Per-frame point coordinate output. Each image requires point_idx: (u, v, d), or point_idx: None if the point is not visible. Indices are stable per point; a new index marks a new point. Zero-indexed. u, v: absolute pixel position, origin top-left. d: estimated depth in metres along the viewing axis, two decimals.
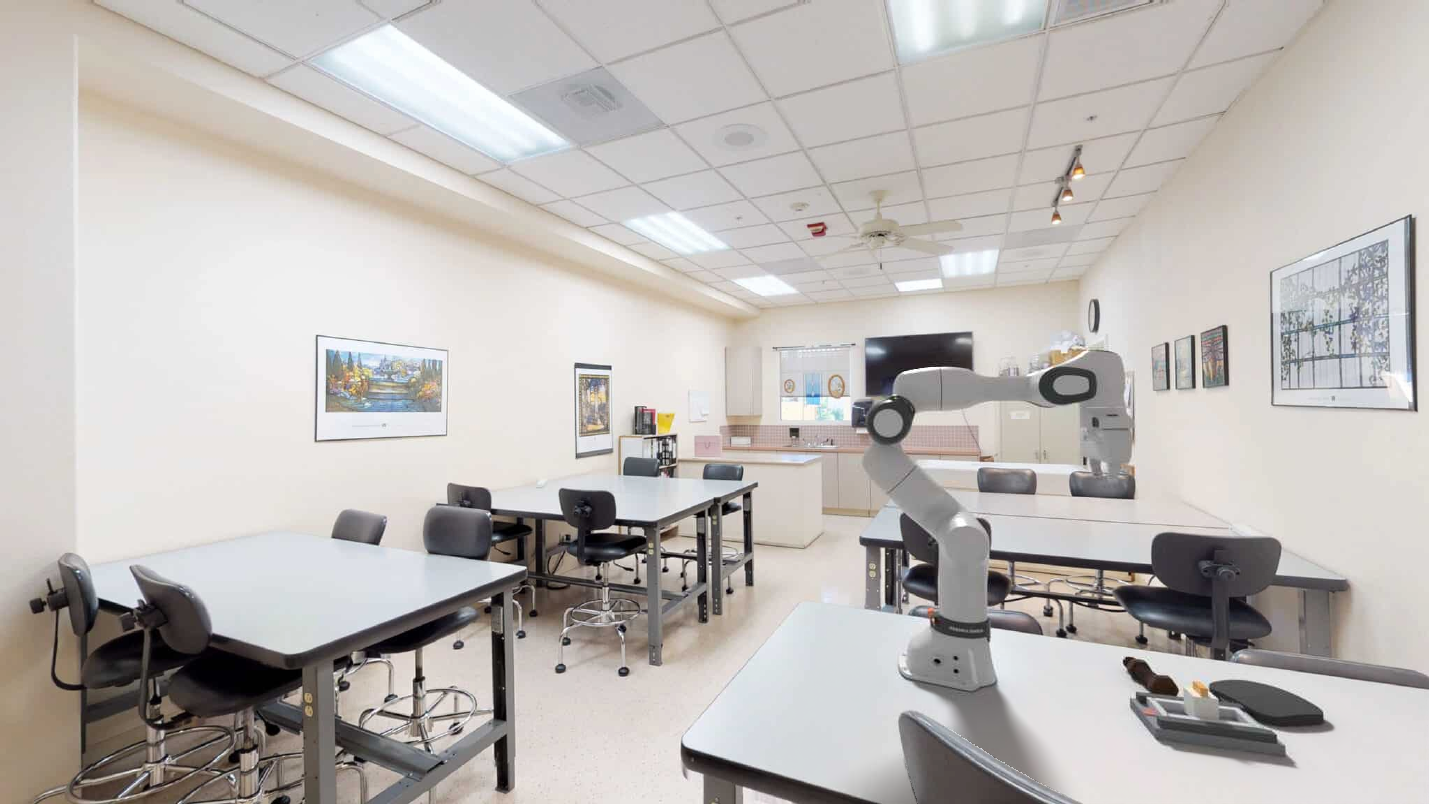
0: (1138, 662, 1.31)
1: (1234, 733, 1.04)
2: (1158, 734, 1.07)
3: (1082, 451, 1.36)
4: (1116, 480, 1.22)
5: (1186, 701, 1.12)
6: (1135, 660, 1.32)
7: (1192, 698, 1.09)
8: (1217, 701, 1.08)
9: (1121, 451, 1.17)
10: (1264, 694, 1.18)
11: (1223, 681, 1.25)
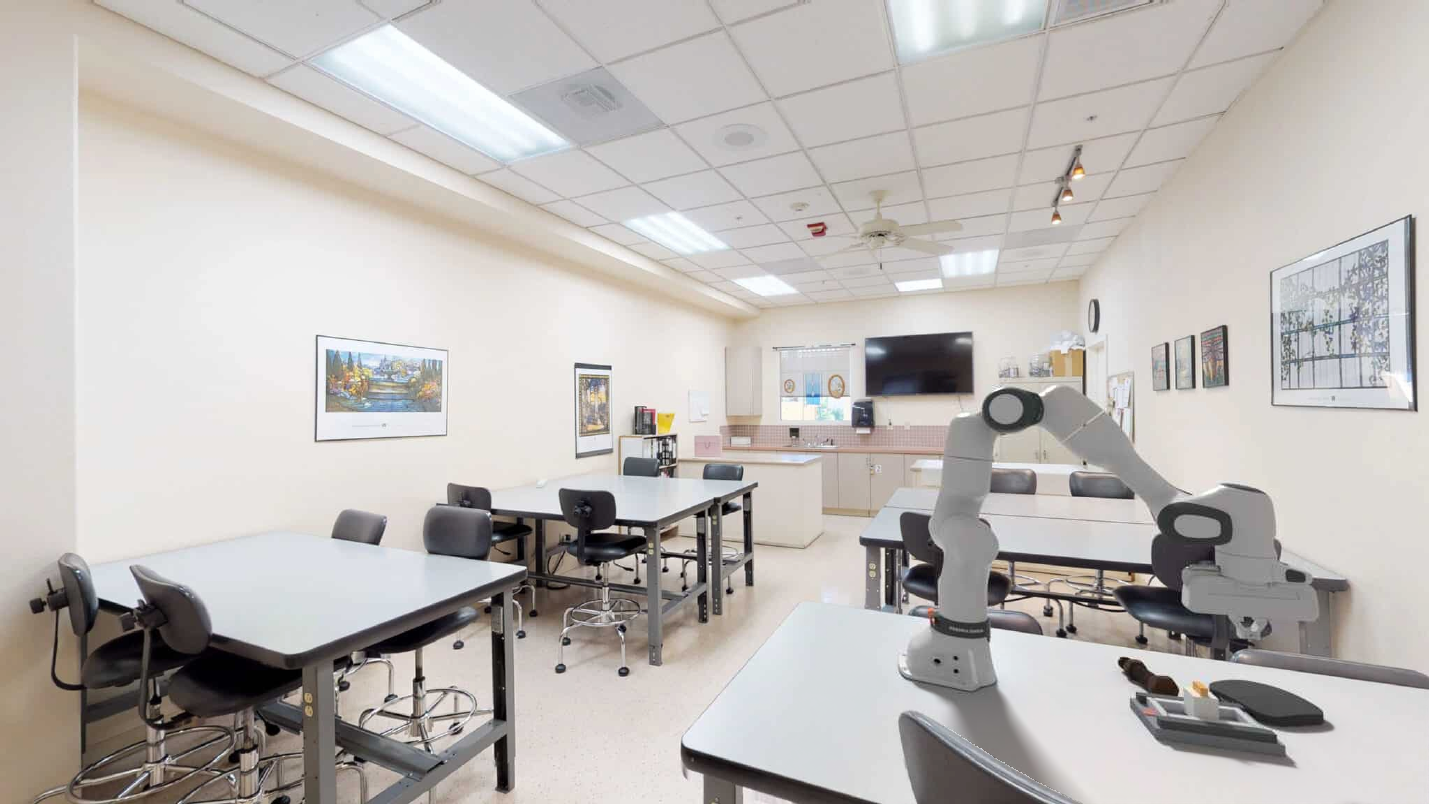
0: (1135, 662, 1.31)
1: (1234, 733, 1.04)
2: (1158, 734, 1.07)
3: (1199, 606, 1.09)
4: None
5: (1186, 701, 1.12)
6: (1132, 660, 1.32)
7: (1192, 698, 1.09)
8: (1217, 701, 1.08)
9: None
10: (1264, 694, 1.18)
11: (1223, 681, 1.25)
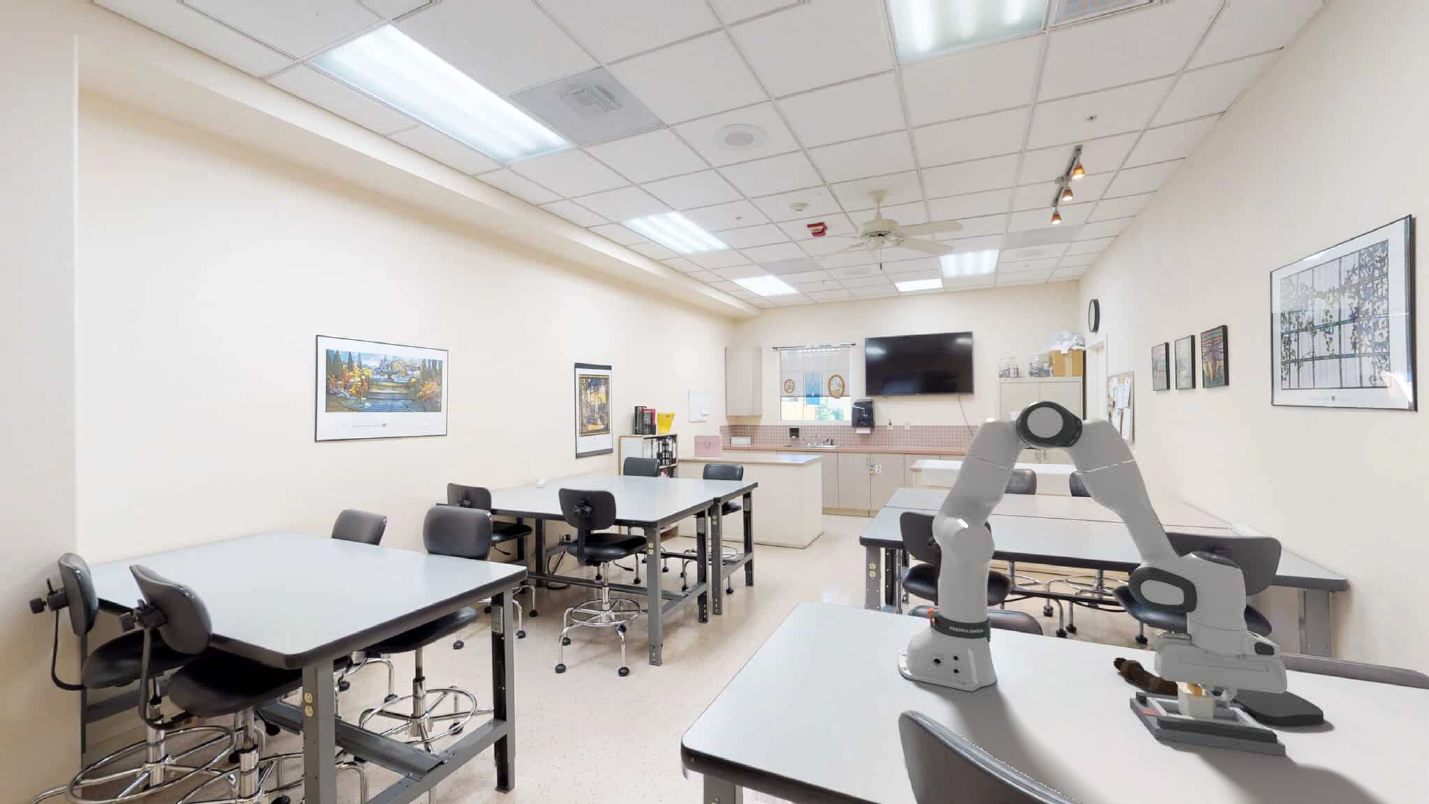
0: (1132, 663, 1.30)
1: (1234, 733, 1.04)
2: (1158, 734, 1.07)
3: (1170, 674, 1.10)
4: None
5: (1180, 701, 1.12)
6: (1129, 661, 1.31)
7: (1187, 698, 1.09)
8: (1211, 700, 1.08)
9: None
10: (1264, 694, 1.18)
11: None
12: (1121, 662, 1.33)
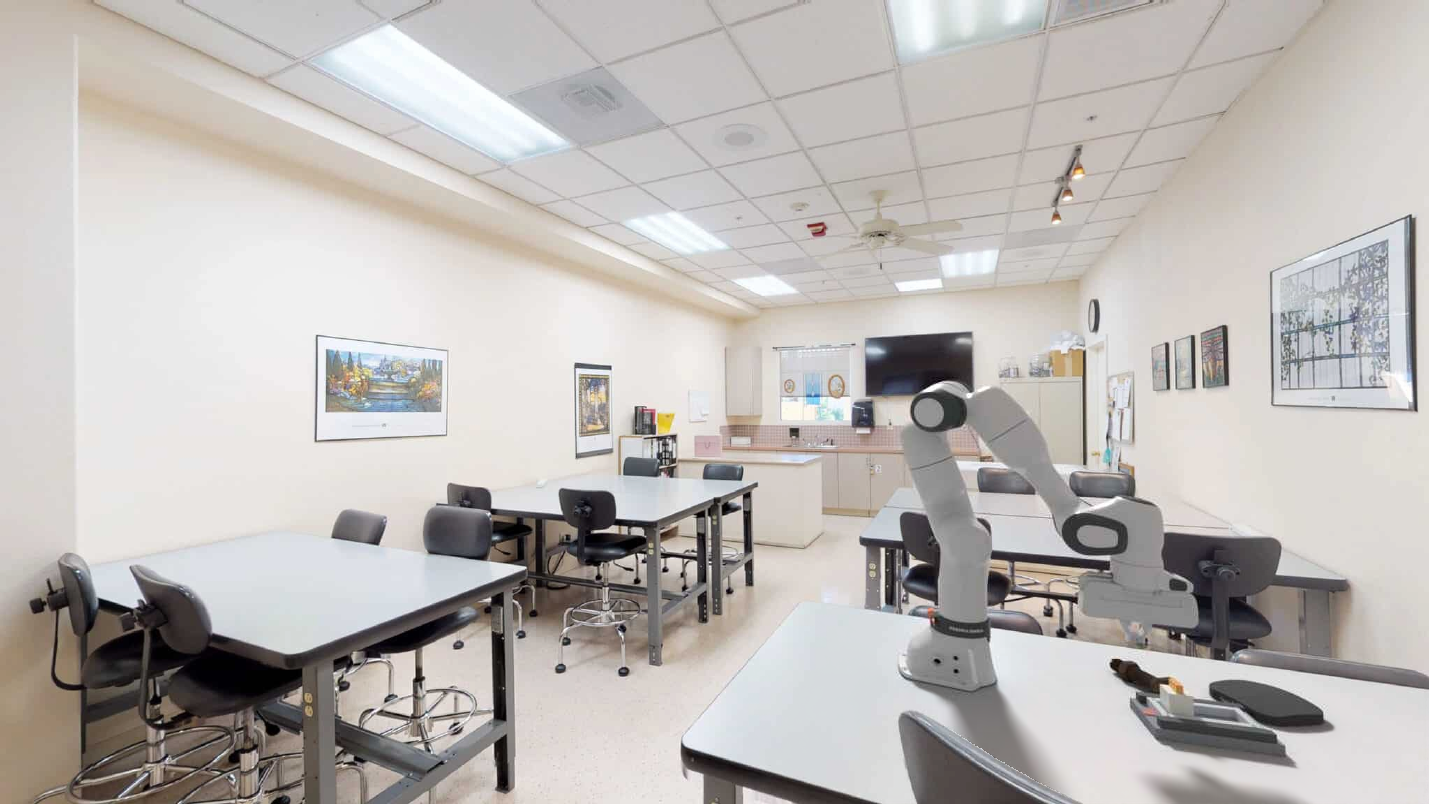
0: (1130, 664, 1.30)
1: (1234, 733, 1.04)
2: (1158, 734, 1.07)
3: (1091, 610, 1.15)
4: None
5: (1162, 698, 1.13)
6: (1127, 662, 1.31)
7: (1168, 695, 1.10)
8: (1192, 698, 1.09)
9: None
10: (1264, 694, 1.18)
11: (1223, 681, 1.25)
12: (1118, 663, 1.33)
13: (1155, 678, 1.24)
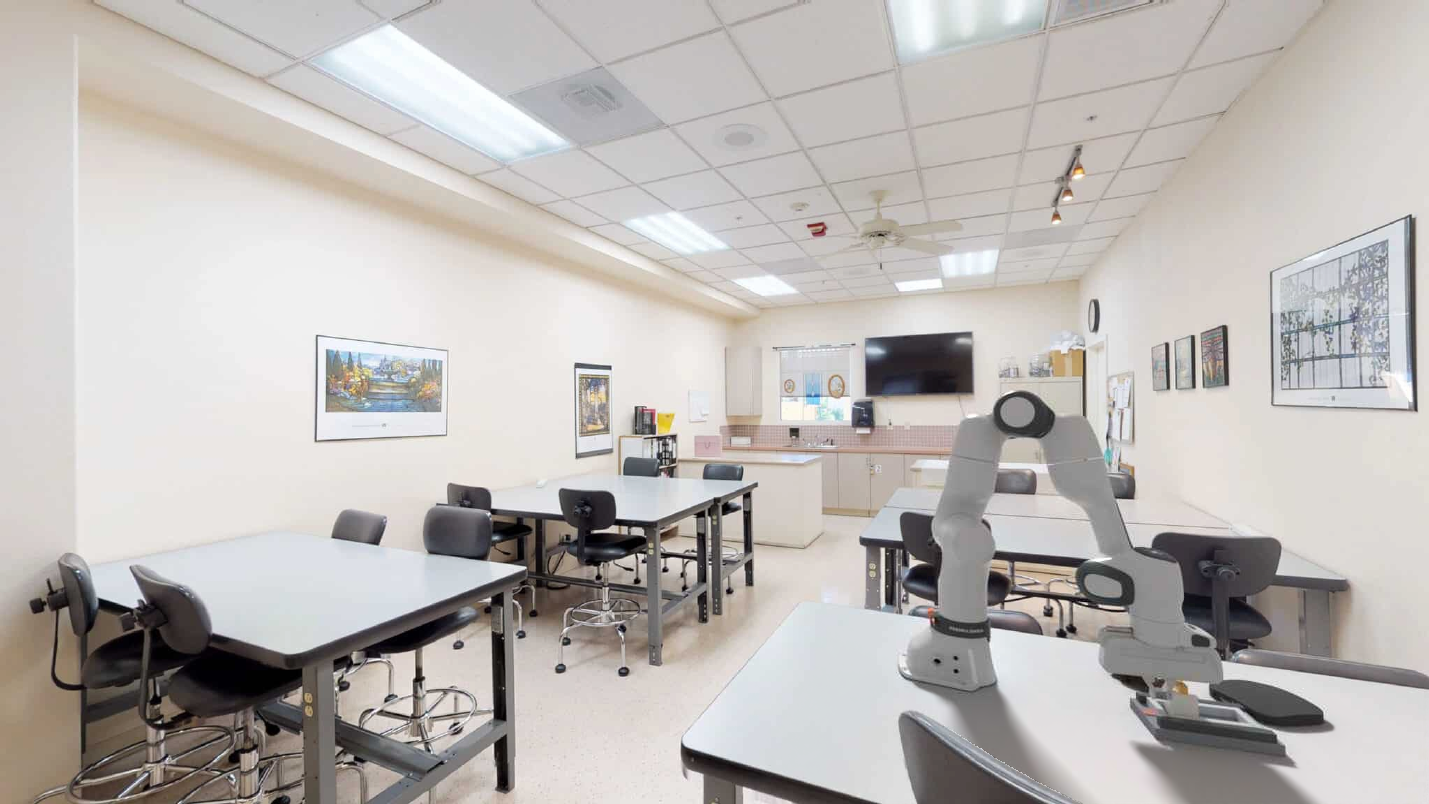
0: None
1: (1234, 733, 1.04)
2: (1158, 734, 1.07)
3: (1113, 667, 1.13)
4: None
5: None
6: None
7: (1172, 696, 1.10)
8: (1196, 699, 1.09)
9: None
10: (1264, 694, 1.18)
11: (1223, 681, 1.25)
12: None
13: (1156, 679, 1.23)
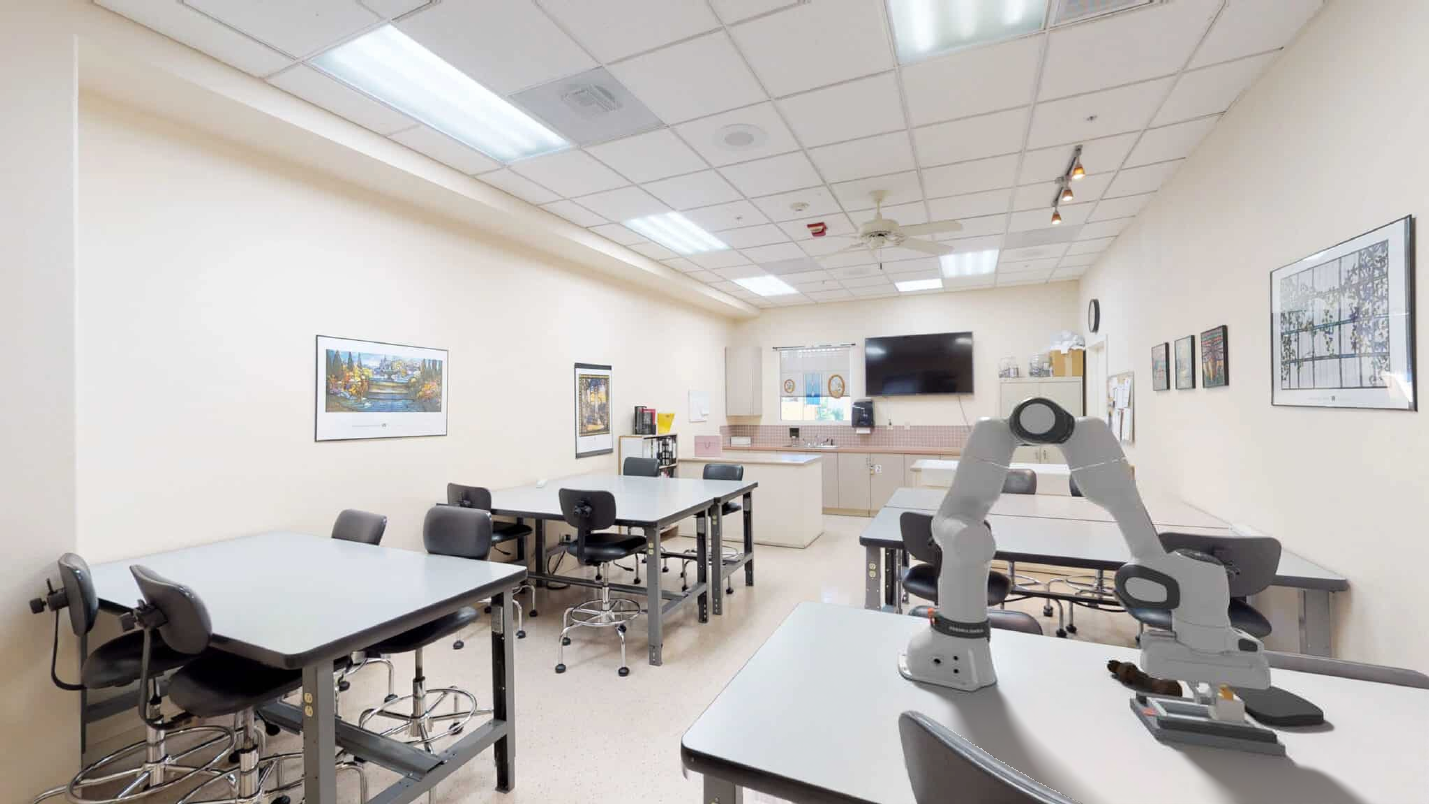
0: (1129, 666, 1.29)
1: (1234, 733, 1.04)
2: (1158, 734, 1.07)
3: (1156, 672, 1.11)
4: None
5: None
6: (1125, 664, 1.30)
7: (1217, 701, 1.08)
8: (1243, 704, 1.06)
9: None
10: (1264, 694, 1.18)
11: None
12: (1116, 665, 1.32)
13: (1157, 679, 1.23)
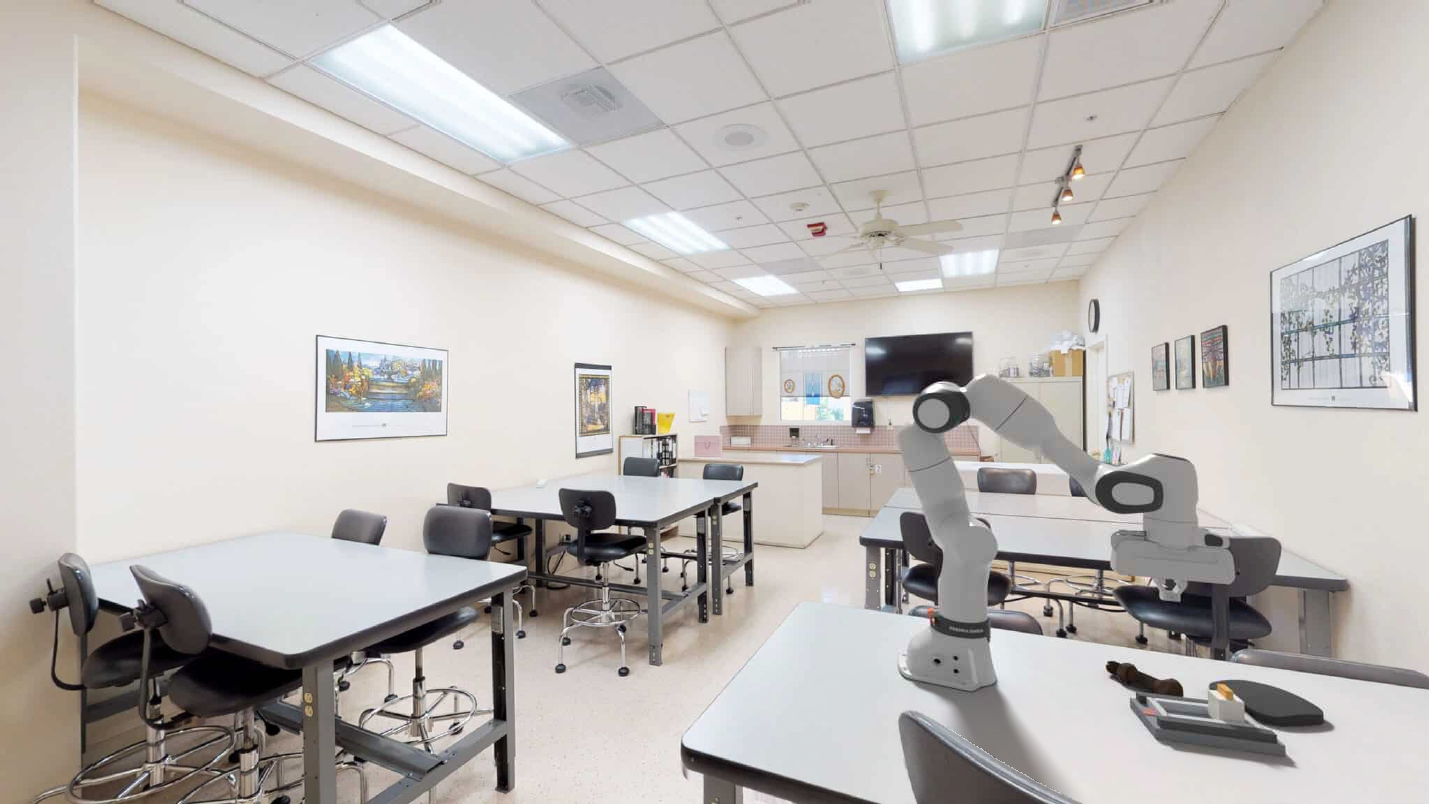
0: (1129, 666, 1.29)
1: (1234, 733, 1.04)
2: (1158, 734, 1.07)
3: (1124, 568, 1.14)
4: None
5: (1210, 704, 1.10)
6: (1125, 665, 1.29)
7: (1217, 701, 1.08)
8: (1243, 704, 1.06)
9: None
10: (1264, 694, 1.18)
11: (1223, 681, 1.25)
12: (1115, 666, 1.32)
13: (1158, 680, 1.23)
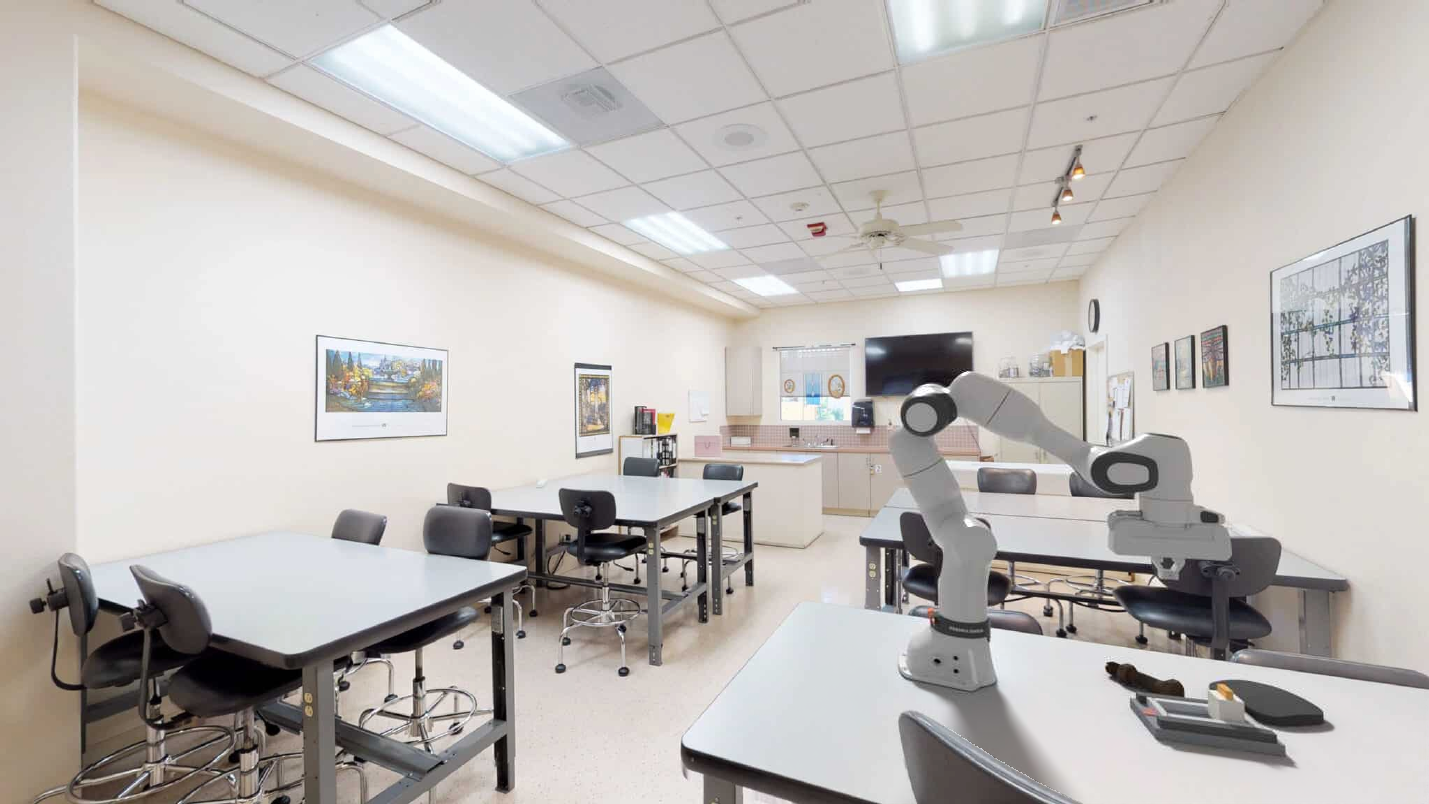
0: (1129, 667, 1.28)
1: (1234, 733, 1.04)
2: (1158, 734, 1.07)
3: (1122, 549, 1.15)
4: None
5: (1210, 704, 1.10)
6: (1125, 665, 1.29)
7: (1217, 701, 1.08)
8: (1243, 704, 1.06)
9: None
10: (1264, 694, 1.18)
11: (1223, 681, 1.25)
12: (1115, 667, 1.31)
13: (1159, 681, 1.22)
